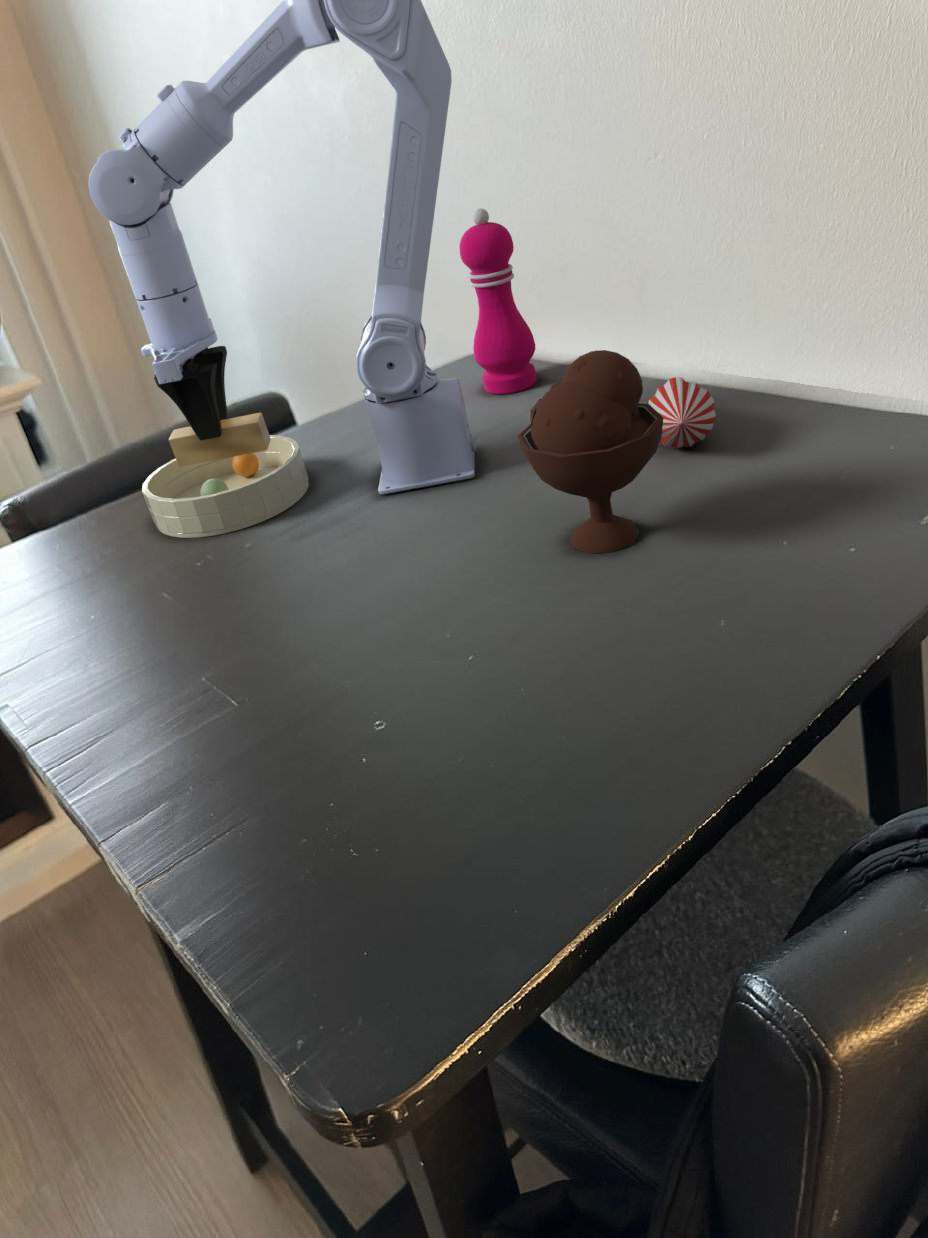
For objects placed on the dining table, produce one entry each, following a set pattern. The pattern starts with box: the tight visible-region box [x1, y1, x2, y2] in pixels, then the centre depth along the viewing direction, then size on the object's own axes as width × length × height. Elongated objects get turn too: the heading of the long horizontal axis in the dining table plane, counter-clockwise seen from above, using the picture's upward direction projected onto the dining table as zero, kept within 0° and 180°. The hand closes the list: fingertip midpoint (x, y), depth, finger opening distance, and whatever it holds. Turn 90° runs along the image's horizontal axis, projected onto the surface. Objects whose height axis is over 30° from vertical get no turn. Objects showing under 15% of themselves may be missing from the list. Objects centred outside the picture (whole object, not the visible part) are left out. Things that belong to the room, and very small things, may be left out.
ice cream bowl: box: [517, 349, 663, 554], centre depth 79 cm, size 11×11×15 cm
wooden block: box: [168, 412, 271, 467], centre depth 100 cm, size 9×2×3 cm, turn 89°
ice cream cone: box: [648, 376, 717, 449], centre depth 97 cm, size 6×6×20 cm
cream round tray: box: [141, 434, 310, 539], centre depth 105 cm, size 16×16×4 cm
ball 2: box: [232, 453, 259, 477], centre depth 110 cm, size 3×3×3 cm
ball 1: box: [201, 479, 228, 496], centre depth 104 cm, size 3×3×3 cm
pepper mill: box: [458, 208, 538, 395], centre depth 116 cm, size 7×7×20 cm
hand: (214, 432), depth 100 cm, fingers closed on wooden block, 2 cm apart
